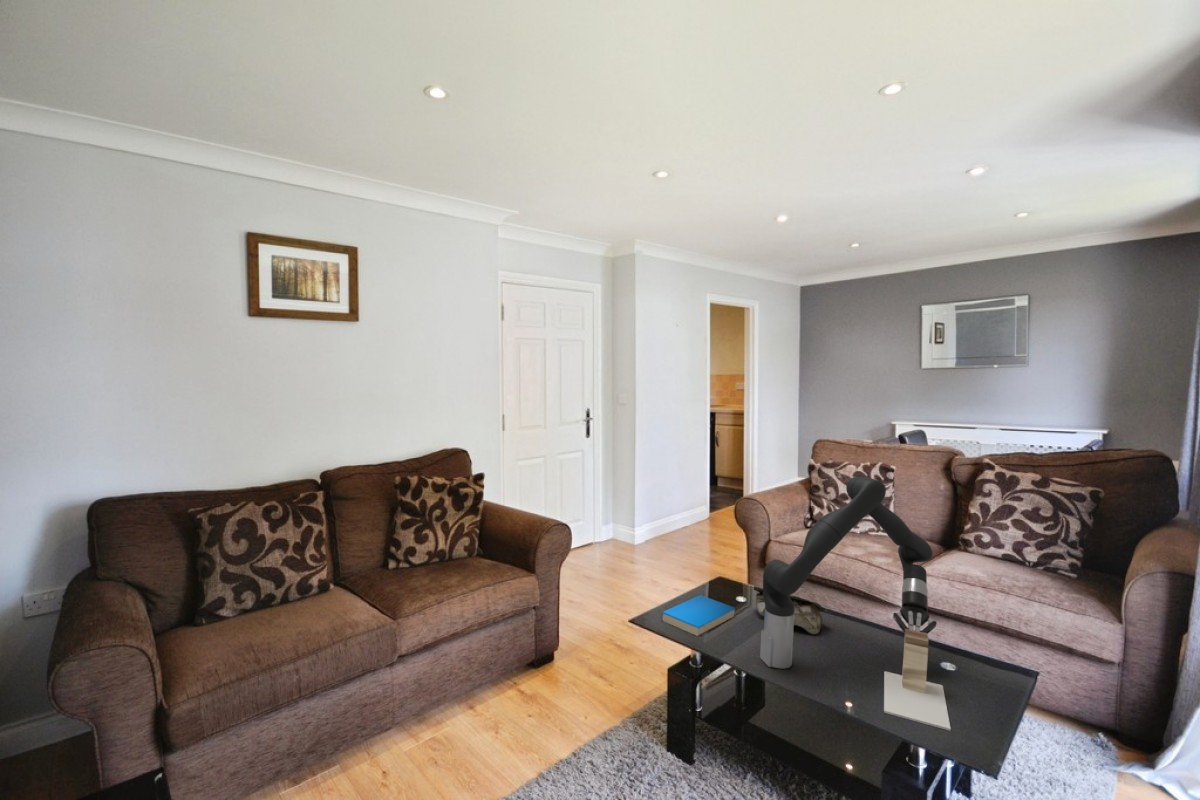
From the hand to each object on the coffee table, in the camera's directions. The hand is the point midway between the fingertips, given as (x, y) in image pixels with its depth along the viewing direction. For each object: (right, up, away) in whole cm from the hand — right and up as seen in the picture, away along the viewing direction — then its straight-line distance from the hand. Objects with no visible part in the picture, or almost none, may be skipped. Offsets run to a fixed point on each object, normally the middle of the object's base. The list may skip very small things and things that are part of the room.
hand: (914, 646), depth 175 cm
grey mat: (-7, -10, -12) cm, 17 cm away
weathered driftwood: (-28, -8, +38) cm, 47 cm away
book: (-62, -7, +38) cm, 73 cm away
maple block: (-4, -10, -6) cm, 12 cm away
